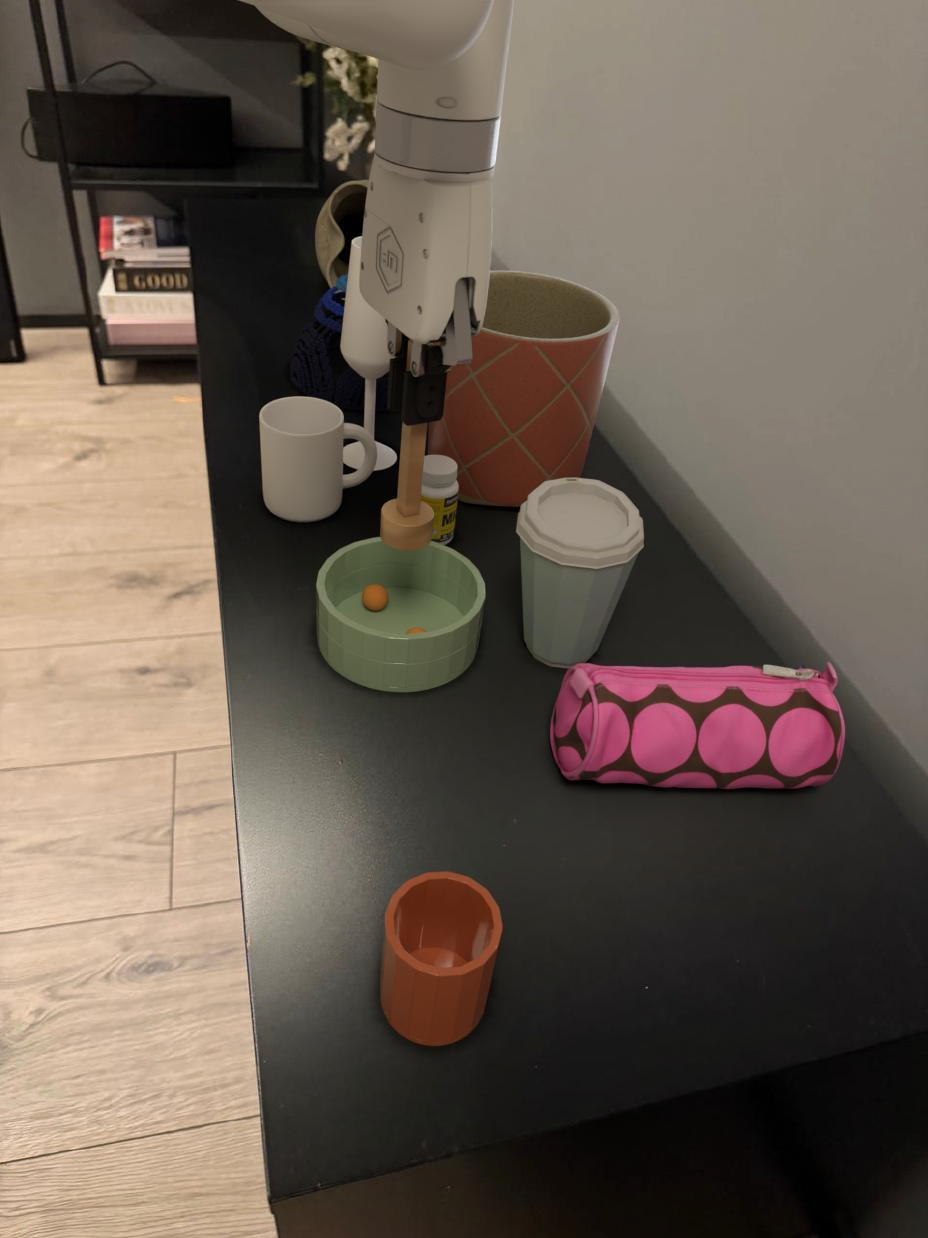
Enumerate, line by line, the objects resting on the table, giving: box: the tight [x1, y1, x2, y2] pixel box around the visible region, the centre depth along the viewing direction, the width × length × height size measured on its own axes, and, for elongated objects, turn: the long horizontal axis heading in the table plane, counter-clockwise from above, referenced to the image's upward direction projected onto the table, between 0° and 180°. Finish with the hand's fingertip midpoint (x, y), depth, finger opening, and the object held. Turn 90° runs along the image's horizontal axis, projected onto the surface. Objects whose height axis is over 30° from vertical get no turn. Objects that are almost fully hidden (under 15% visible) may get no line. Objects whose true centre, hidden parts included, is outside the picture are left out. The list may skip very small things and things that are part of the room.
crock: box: [379, 870, 504, 1047], centre depth 55 cm, size 7×7×8 cm
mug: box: [258, 396, 377, 523], centre depth 95 cm, size 12×8×10 cm
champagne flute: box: [339, 236, 398, 472], centre depth 99 cm, size 7×7×24 cm
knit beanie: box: [289, 274, 392, 413], centre depth 118 cm, size 20×20×14 cm
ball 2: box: [405, 627, 427, 634], centre depth 80 cm, size 2×2×2 cm
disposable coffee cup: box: [515, 477, 645, 669], centre depth 79 cm, size 11×11×15 cm
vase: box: [314, 179, 369, 302], centre depth 144 cm, size 22×22×28 cm
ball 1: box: [362, 584, 388, 611], centre depth 84 cm, size 2×2×2 cm
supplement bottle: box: [420, 454, 459, 546], centre depth 93 cm, size 5×5×8 cm
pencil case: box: [549, 661, 846, 790], centre depth 71 cm, size 21×10×10 cm, turn 97°
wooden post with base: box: [379, 339, 434, 551], centre depth 70 cm, size 4×4×16 cm
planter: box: [427, 270, 620, 508], centre depth 101 cm, size 19×19×20 cm
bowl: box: [315, 536, 486, 693], centre depth 81 cm, size 14×14×6 cm
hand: (414, 413), depth 68 cm, fingers closed on wooden post with base, 1 cm apart
